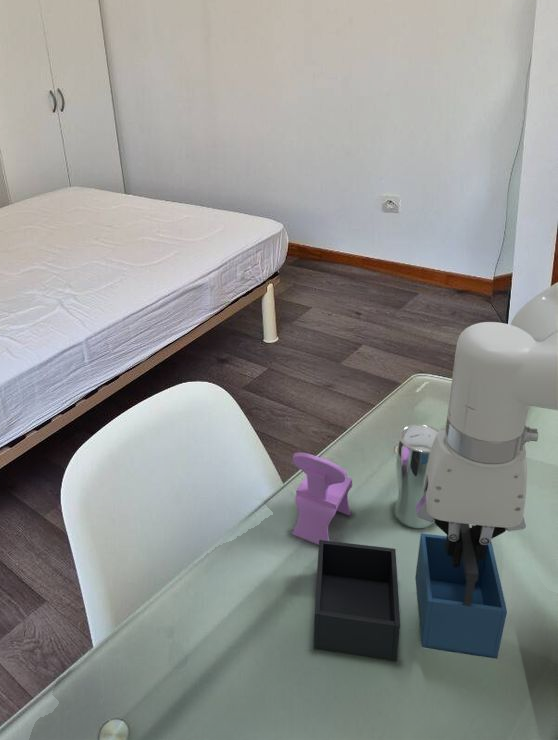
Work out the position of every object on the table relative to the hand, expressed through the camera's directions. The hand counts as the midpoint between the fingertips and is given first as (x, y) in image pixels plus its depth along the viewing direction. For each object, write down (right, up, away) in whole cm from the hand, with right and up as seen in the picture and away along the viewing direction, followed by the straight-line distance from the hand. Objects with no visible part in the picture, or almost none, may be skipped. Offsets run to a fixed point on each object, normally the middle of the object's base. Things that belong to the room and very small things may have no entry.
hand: (462, 558), depth 81 cm
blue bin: (+1, -9, +4) cm, 10 cm away
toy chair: (-11, -5, +26) cm, 29 cm away
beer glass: (+3, -3, +26) cm, 27 cm away
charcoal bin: (-10, -12, +11) cm, 19 cm away
